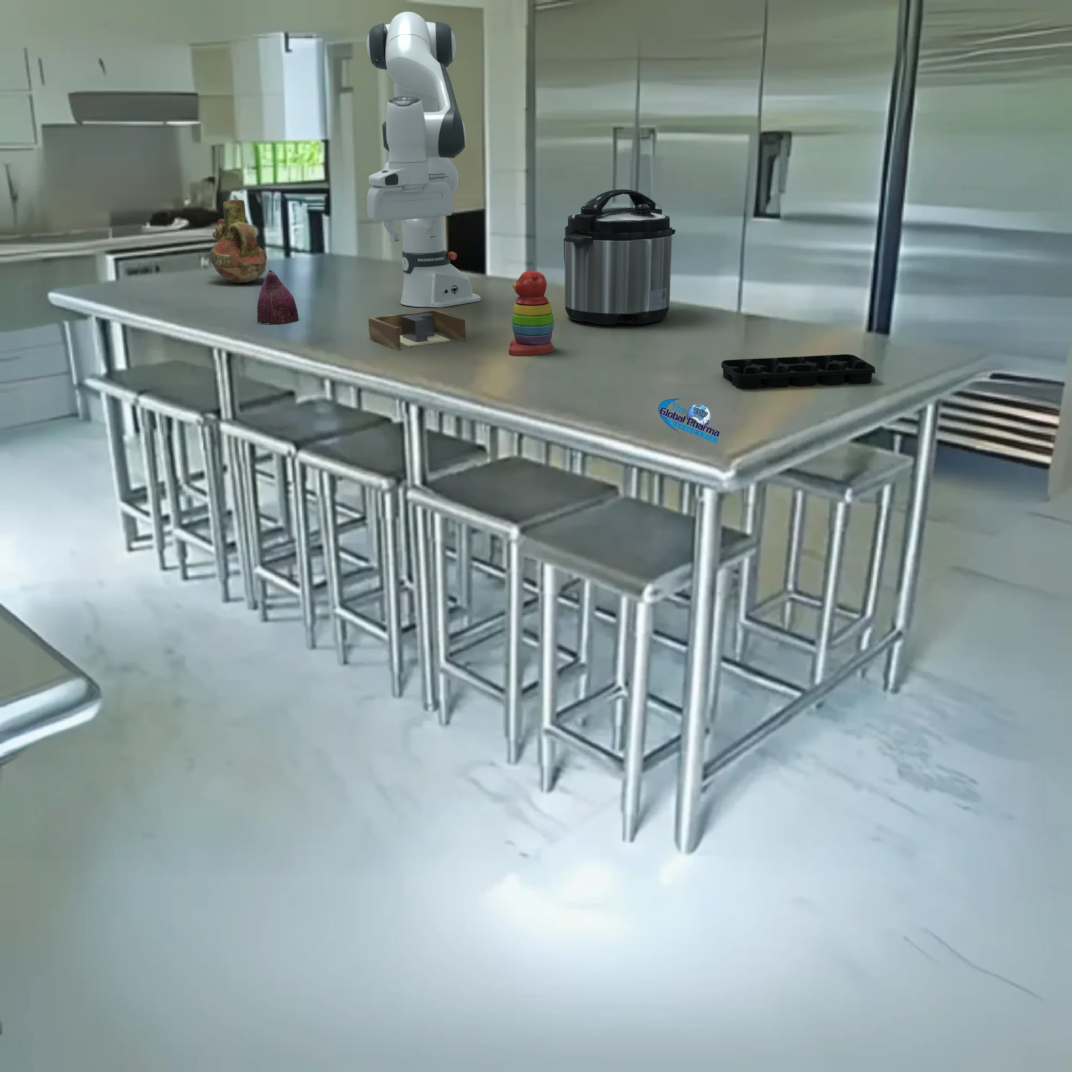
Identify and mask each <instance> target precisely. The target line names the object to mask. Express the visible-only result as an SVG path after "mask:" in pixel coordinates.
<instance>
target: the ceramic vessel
mask: <svg viewBox="0 0 1072 1072" xmlns="http://www.w3.org/2000/svg"><path fill="white" fill-rule="evenodd" d="M222 209H223V218H219V219H218V220H217V225H216V226H215V231H214V232H213V233H212V237H213V238H214V239H215V240H216V243H214V244H213V246H212V247H211V249H210V253H209V259H210V261H211V263H212V265H213V268H214V269H215V271H216V272H217V273H218V274H219V275H220V276H221V277H223V278H224V279H226V280H227V281H229V282H231V283H232V284H245V283H250V282H252V281H255V280H256V279H259V278H260V277H261V276H262V275H263V274H264V273H265V271H266V268H267V267H266V265H267V258H268V257H267V253H266V252H265V250H264V249H263V248H261V247H260V246H259V242H258V237H257V235H256V232H255V230H254V228H253V226H251V225H250V224H249V223H246V205H245V200H243V199H231V200H229V201H227V200H226V201H224V202H223V204H222Z"/></svg>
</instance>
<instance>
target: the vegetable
mask: <svg viewBox="0 0 1072 1072" xmlns="http://www.w3.org/2000/svg"><path fill="white" fill-rule="evenodd" d="M260 288H261V289H260V291H259V295H258V299H257V307H256V308H257V309H256V310H257V311H256V313H257V316H256V319H257V320H256V321H257V323H258V322H261V323H260V324H264V323H269V324H268V325H282V324H281V323H284V324H290V323H293V322H296V321H299V311H298V307H297V303H296V301H295V297H294V296H293V294H292V293H291V292H290V291H289V289H288V287H286V285H285V284H284V283H283V282H282V281H281V279H280V278H279V276H278V275H277V274H276V273H275V272H274V271H273V270H271V269H268V272H266V276H265V280H264V282H263V283H262V286H261V287H260Z"/></svg>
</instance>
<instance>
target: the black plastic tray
mask: <svg viewBox="0 0 1072 1072" xmlns="http://www.w3.org/2000/svg"><path fill="white" fill-rule="evenodd" d="M720 368H721V369H722V378H723V379H724V380H726V381H728V382H731V385H732V386H734V387H735V388H736V389H739V390H757V389H760V388H761V386H762V387H764V388H767V389H784V388H787V387H789V386H792V387H796V388H798V387H799V388H800V387H801V388H802V387H803V388H807V387H814V386H817V384H818V385H821V386H828V387H829V386H842V385H844V384H845V383H847V384H850V385H867V384H871V383H872V379H873V374H876V367H875V366H873V365H872V364H871V363H870V362H868V361H865V360H864V359H862V358H860V357H858V356H857V355H854V354H850V353H848V354H846V353H843V354H842V353H841V354H824V355H823V354H822V355H820V354H819V355H805V356H801V355H800V356H783V357H782V356H781V357H763V358H762V357H761V358H759V357H758V358H741V359H740V358H739V359H725V360H722V361H721V364H720Z"/></svg>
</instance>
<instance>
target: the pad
mask: <svg viewBox="0 0 1072 1072" xmlns="http://www.w3.org/2000/svg"><path fill="white" fill-rule="evenodd" d="M434 334H435V333H434ZM427 339H428V341H422V342H414V341H411V340H409V339H406V338H403V335H400V343H401V346H403V347H406V346H407V348H411V346H412V347H418V346H425V345H432V344H440V343H446V342H451V339H449V338H446V337H444V336H441V335H438V334H435V336H429V337H427Z"/></svg>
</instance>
